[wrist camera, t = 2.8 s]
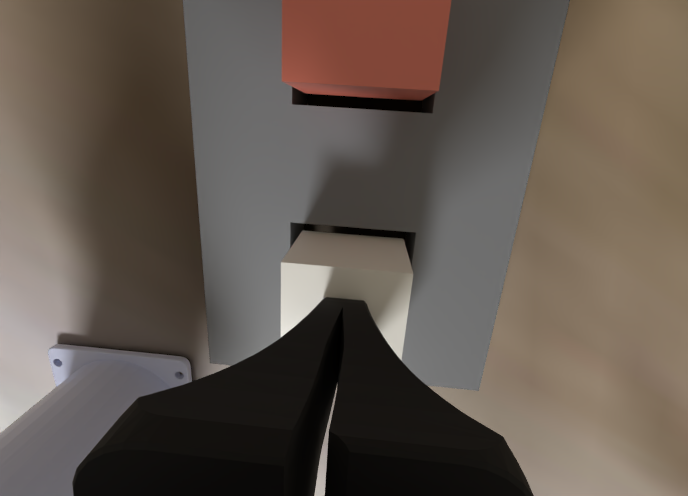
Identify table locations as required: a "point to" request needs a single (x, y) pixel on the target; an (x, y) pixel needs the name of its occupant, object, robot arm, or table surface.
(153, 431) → the robot arm
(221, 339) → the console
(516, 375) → the table surface
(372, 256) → the white cube
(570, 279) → the table surface
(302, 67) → the red button
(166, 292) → the table surface
